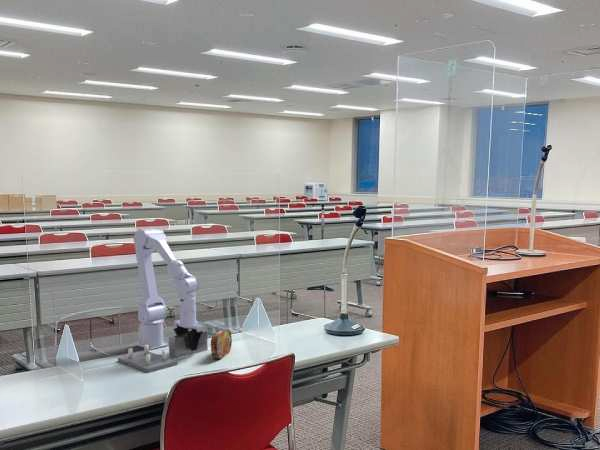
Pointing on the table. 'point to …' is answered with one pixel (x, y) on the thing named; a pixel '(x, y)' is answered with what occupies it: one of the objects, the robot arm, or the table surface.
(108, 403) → the table surface
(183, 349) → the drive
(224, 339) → the tin
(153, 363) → the tray
